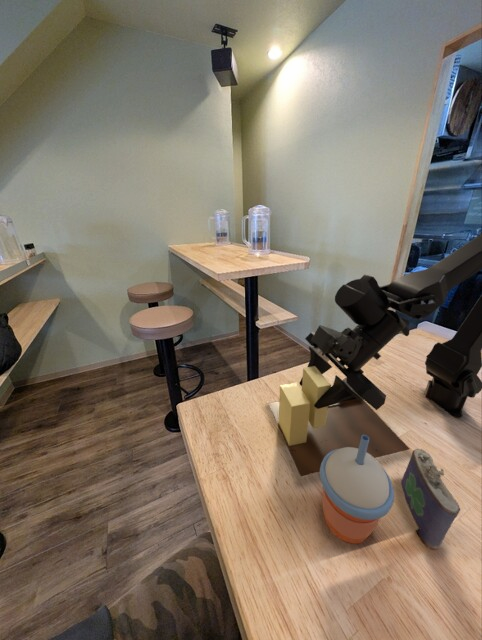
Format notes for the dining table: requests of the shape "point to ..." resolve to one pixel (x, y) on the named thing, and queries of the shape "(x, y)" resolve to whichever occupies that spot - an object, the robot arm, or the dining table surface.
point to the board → (342, 435)
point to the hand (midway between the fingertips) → (307, 395)
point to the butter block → (293, 413)
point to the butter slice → (315, 394)
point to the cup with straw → (354, 492)
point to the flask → (428, 499)
